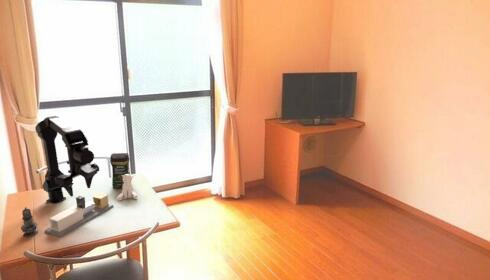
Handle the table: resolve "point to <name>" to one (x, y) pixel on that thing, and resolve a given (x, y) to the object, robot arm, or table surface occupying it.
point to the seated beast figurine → (127, 188)
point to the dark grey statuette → (28, 224)
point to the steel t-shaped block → (84, 205)
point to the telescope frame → (77, 216)
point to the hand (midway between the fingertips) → (80, 192)
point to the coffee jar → (119, 168)
